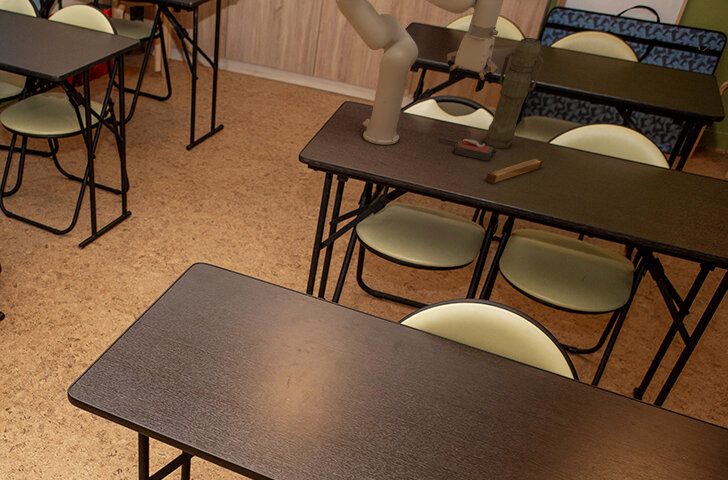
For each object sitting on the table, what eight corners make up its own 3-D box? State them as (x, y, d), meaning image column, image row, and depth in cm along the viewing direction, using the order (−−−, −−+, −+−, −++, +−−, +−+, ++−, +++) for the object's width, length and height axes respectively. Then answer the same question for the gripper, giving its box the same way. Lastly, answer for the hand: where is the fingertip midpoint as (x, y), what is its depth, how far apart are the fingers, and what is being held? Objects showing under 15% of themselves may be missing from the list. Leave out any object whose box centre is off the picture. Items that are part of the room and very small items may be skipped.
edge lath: (485, 180, 222) (487, 173, 221) (533, 165, 232) (536, 157, 231) (492, 183, 221) (494, 176, 219) (540, 167, 231) (543, 160, 229)
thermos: (481, 135, 251) (513, 33, 228) (515, 142, 247) (551, 39, 224) (478, 144, 245) (510, 40, 222) (512, 151, 241) (548, 45, 218)
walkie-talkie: (496, 153, 239) (439, 140, 246) (500, 141, 236) (442, 128, 244) (490, 162, 233) (432, 149, 241) (494, 150, 230) (435, 136, 238)
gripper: (512, 35, 210) (494, 91, 222) (461, 22, 219) (446, 77, 231) (501, 39, 206) (483, 97, 217) (449, 26, 215) (435, 82, 227)
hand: (464, 86), depth 224 cm, fingers open, 9 cm apart
